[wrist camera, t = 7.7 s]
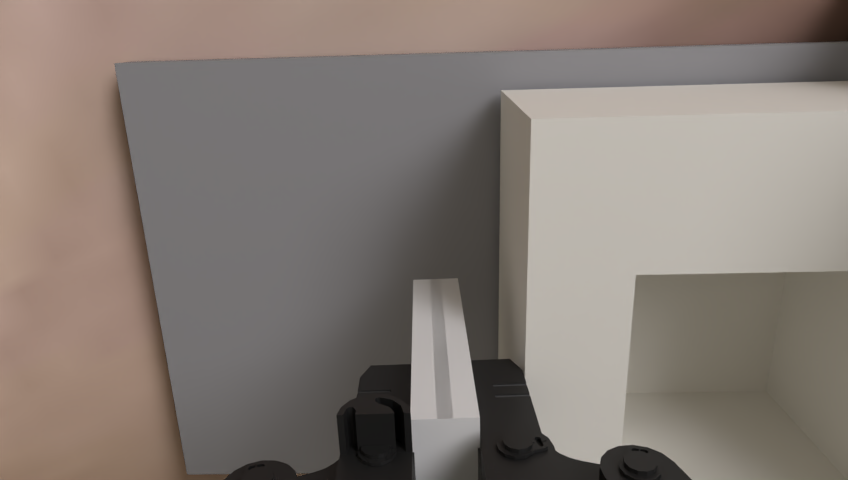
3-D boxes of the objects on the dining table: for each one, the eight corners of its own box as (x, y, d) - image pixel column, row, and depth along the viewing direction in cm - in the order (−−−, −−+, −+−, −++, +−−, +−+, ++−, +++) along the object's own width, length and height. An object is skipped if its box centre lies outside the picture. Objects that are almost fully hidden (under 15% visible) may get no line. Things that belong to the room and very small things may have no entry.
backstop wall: (823, 495, 23) (1341, 1120, 10) (204, 500, 24) (-89, 1094, 11) (934, -37, 17) (2506, -247, 4) (118, -10, 18) (-756, -121, 5)
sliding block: (796, 449, 21) (930, 604, 15) (497, 452, 21) (518, 606, 16) (866, 80, 17) (1077, 104, 12) (500, 90, 18) (531, 119, 12)
